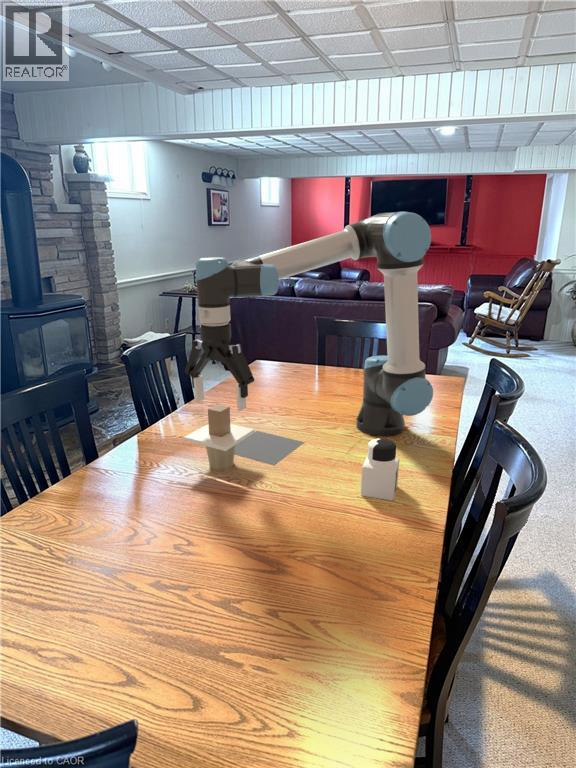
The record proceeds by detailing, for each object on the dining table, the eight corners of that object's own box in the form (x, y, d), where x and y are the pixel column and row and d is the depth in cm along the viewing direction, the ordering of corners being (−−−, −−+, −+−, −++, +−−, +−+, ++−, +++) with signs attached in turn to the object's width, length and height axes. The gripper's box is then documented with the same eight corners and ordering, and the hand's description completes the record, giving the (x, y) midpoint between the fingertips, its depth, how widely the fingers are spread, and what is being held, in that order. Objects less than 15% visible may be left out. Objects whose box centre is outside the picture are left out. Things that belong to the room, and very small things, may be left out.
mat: (304, 444, 146) (304, 442, 146) (274, 467, 132) (274, 465, 132) (256, 432, 155) (256, 430, 154) (223, 453, 141) (223, 451, 140)
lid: (254, 432, 133) (253, 404, 130) (225, 451, 122) (224, 420, 120) (215, 423, 139) (213, 396, 137) (184, 440, 128) (182, 411, 126)
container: (397, 486, 123) (401, 437, 119) (393, 501, 116) (397, 450, 112) (366, 480, 125) (369, 433, 121) (360, 496, 118) (362, 446, 115)
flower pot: (233, 476, 128) (232, 445, 125) (198, 472, 130) (196, 442, 127) (243, 459, 137) (242, 430, 134) (210, 456, 138) (209, 428, 136)
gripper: (166, 321, 124) (173, 401, 131) (248, 330, 112) (252, 418, 119) (186, 316, 130) (192, 393, 137) (266, 324, 118) (269, 408, 125)
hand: (220, 404), depth 128 cm, fingers open, 13 cm apart
